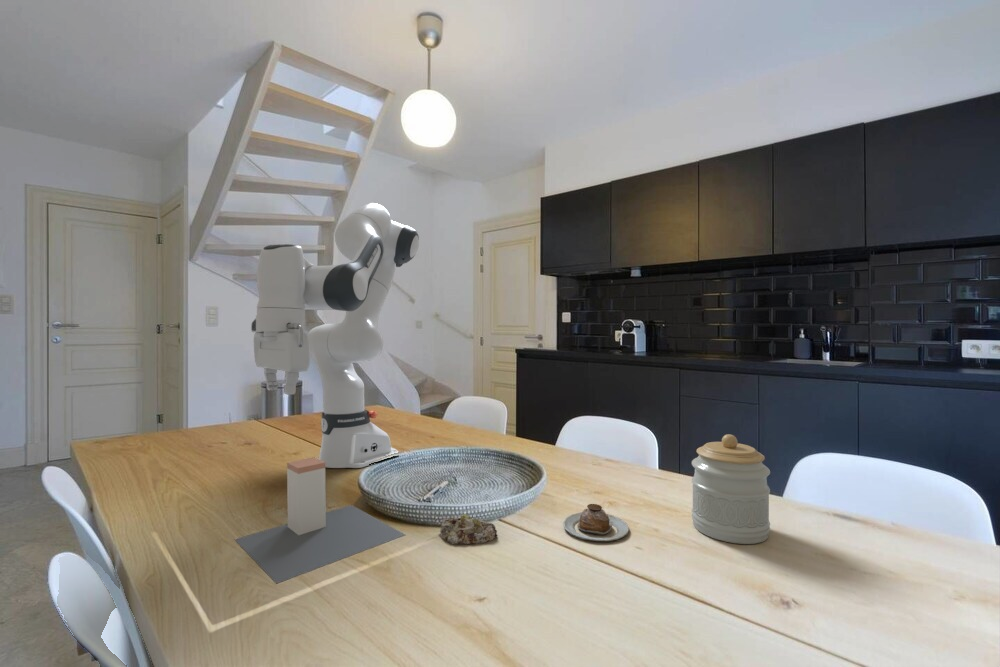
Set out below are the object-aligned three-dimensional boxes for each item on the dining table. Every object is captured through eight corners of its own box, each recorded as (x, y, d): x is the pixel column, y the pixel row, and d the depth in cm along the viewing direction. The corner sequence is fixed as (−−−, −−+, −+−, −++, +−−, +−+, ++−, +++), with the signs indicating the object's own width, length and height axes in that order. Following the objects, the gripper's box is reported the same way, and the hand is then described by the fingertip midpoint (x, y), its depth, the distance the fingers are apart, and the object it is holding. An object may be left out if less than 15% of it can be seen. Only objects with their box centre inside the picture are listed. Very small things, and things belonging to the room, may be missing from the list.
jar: (766, 522, 89) (766, 430, 88) (774, 552, 77) (774, 446, 77) (692, 511, 94) (692, 424, 94) (689, 537, 82) (690, 438, 82)
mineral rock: (431, 531, 80) (447, 503, 88) (433, 552, 81) (448, 522, 89) (490, 540, 78) (502, 510, 85) (491, 561, 79) (502, 530, 86)
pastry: (580, 513, 94) (580, 490, 94) (638, 527, 87) (638, 503, 87) (551, 534, 84) (551, 509, 84) (614, 552, 78) (614, 525, 78)
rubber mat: (351, 507, 96) (351, 504, 96) (405, 538, 82) (405, 534, 82) (234, 542, 81) (234, 539, 81) (276, 587, 67) (276, 583, 67)
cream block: (314, 518, 89) (313, 457, 89) (325, 526, 86) (325, 462, 86) (287, 526, 86) (287, 462, 86) (298, 535, 82) (297, 468, 82)
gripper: (318, 323, 88) (318, 395, 88) (279, 324, 102) (278, 386, 102) (284, 322, 83) (283, 398, 83) (248, 323, 98) (247, 388, 98)
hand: (280, 392), depth 93 cm, fingers open, 8 cm apart
